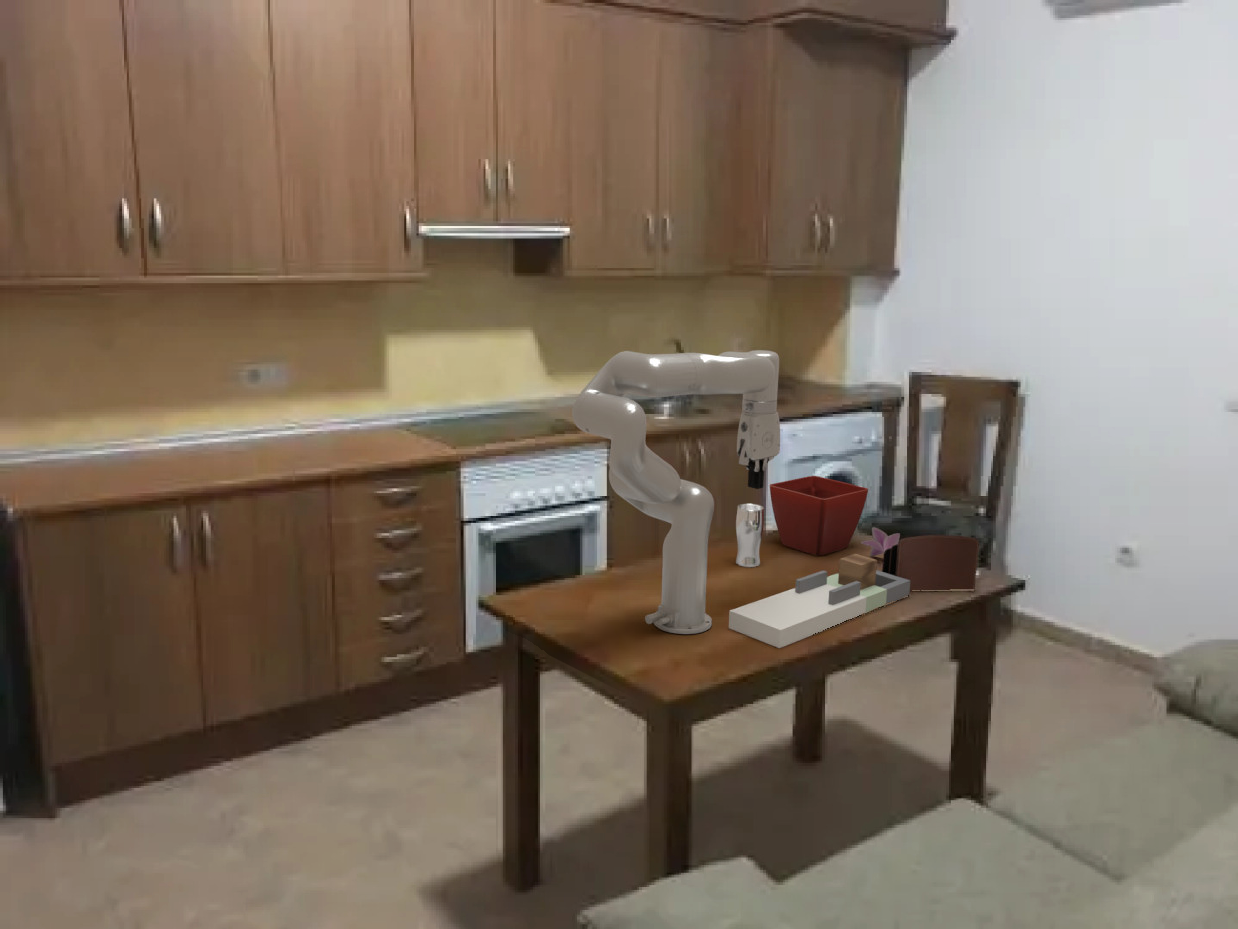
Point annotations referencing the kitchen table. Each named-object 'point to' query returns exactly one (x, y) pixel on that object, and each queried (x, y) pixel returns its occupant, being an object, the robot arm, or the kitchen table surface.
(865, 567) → the walnut block
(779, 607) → the channel deck
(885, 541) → the lily
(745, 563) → the beer glass
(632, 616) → the kitchen table surface
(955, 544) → the letter holder
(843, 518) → the plant pot
